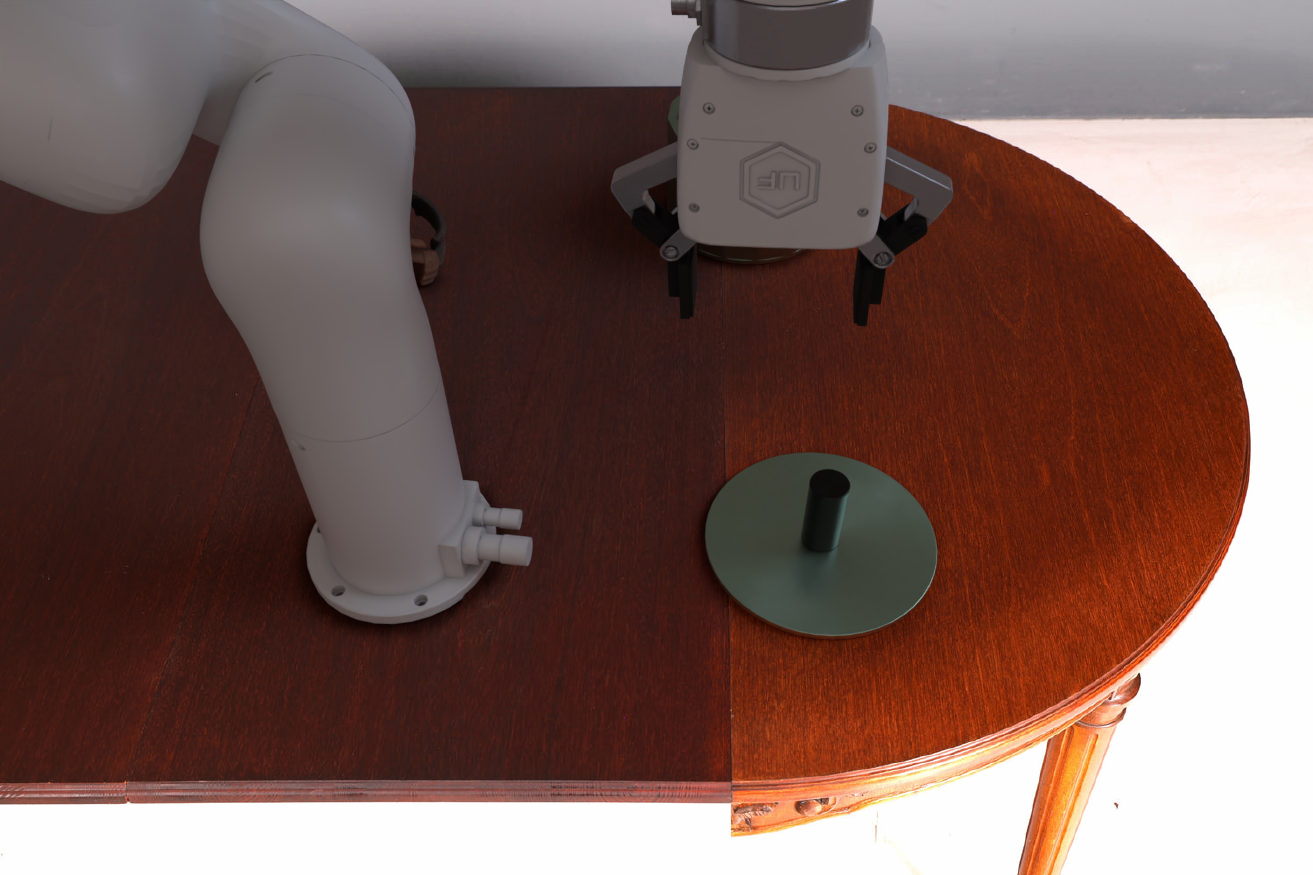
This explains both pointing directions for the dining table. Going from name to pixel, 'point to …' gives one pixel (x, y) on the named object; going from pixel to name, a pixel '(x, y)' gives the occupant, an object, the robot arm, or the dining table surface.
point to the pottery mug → (436, 253)
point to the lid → (820, 545)
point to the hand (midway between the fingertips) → (773, 306)
